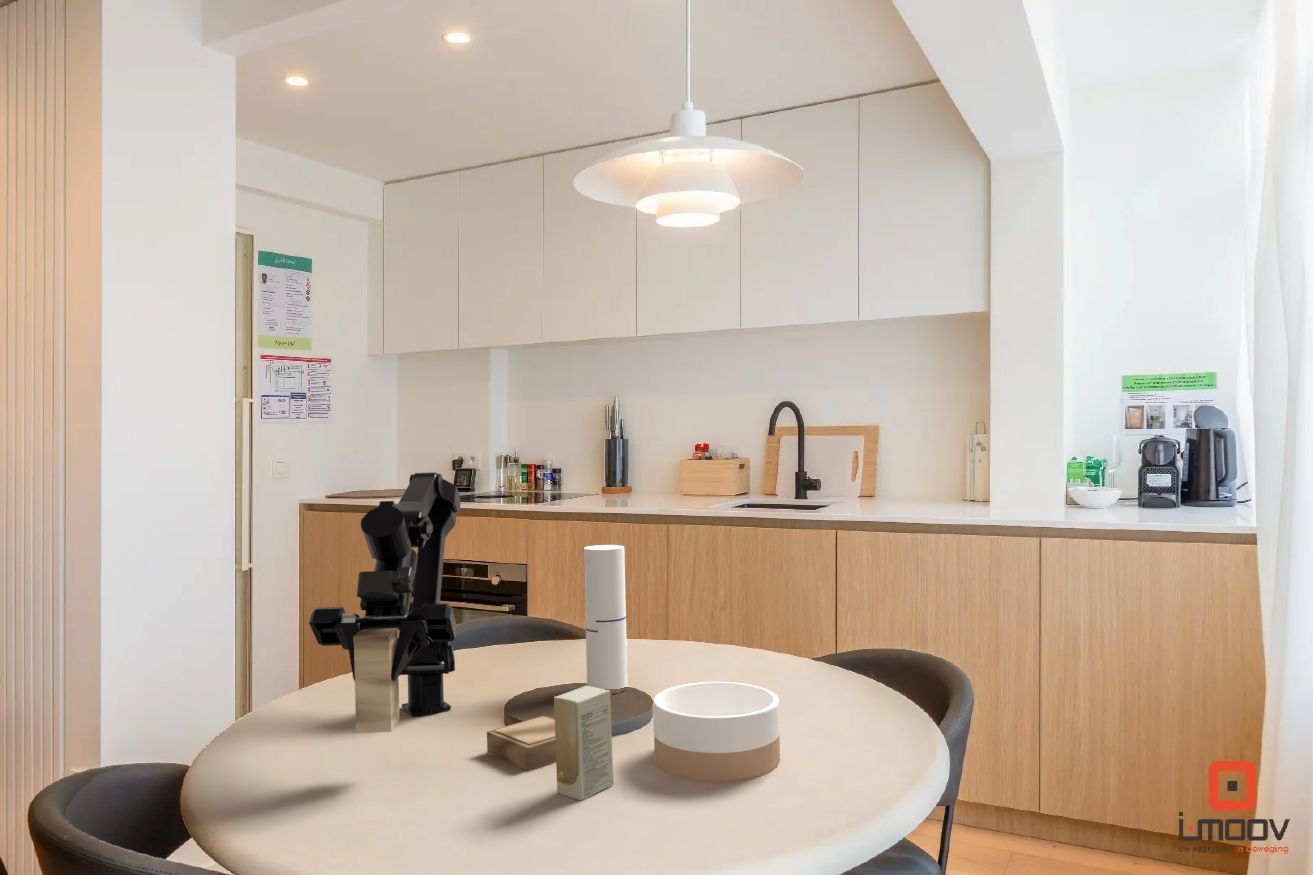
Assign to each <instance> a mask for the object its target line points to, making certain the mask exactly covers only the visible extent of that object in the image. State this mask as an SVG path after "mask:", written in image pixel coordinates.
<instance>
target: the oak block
mask: <svg viewBox="0 0 1313 875" xmlns="http://www.w3.org/2000/svg"><path fill="white" fill-rule="evenodd" d="M398 637H399V631H398V628H385V629H363V630H362V631H360V632H359V633H358V634H356V635H355V636H354V637H353V643H354V666H355V681H354V699H355V700H354V701H355V704H354V705H355V734H367V733H368V734H369V733H370V734H371V733H391V732H393V730H394V729H395V727H396V726H397V725H398V723H399V722H400V686H399V677H398V678H397V679H396V680H395V681H392V678H391V673H392V665H393V662H394V658H395V654H396V650H397V646H398Z"/></svg>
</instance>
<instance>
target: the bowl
mask: <svg viewBox="0 0 1313 875" xmlns="http://www.w3.org/2000/svg"><path fill="white" fill-rule="evenodd" d="M652 705H653V707H652V708H653V709H652V710H653V714H652V715H653V739H654V740H653V741H654V743H653V744H654V761H655V765H656V766H657V767H658V768H659V769H660V770H662V771H663V772H664V773H667V774H669V775H671V776H674V777H677V778H680V779H683V780H689V781H694V782H705V783H727V782H728V783H730V782H732V783H733V782H738V781H739V782H740V781H746V780H751V779H755V778H758V777H762V776H765V775H767V774H770V773H771V772H772V771H774V770H775V769H777V767H778V766H779V764H780V762H781V748H780V746H781V744H780V743H781V742H780V739H781V738H780V737H781V736H780V735H781V730H780V699H779V696H778V695H777V694H775V693H774V692H773V691H771V690H769V689H767V688H764V687H761V686H757V685H754V684H749V683H741V682H731V681H701V682H700V681H699V682H693V683H686V684H679V685H675V686H672V687H669V688H665V689H664V690H661V691H660V692H658V693H657V694H656V695H655V696H654V699H653V700H652Z"/></svg>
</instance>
